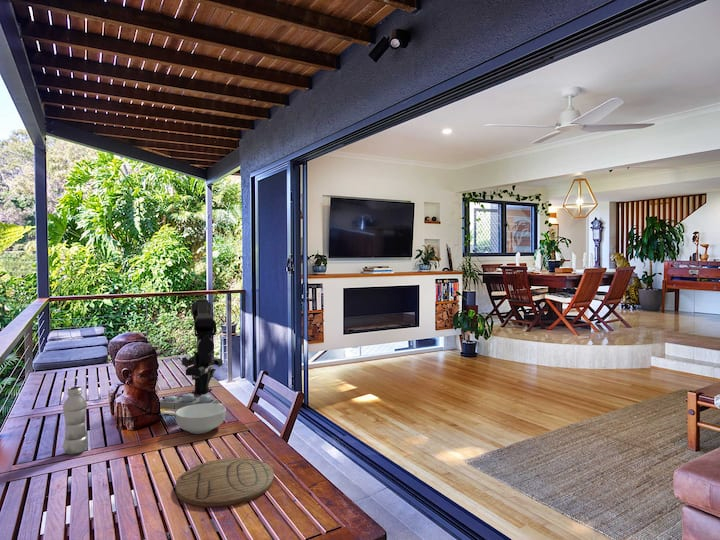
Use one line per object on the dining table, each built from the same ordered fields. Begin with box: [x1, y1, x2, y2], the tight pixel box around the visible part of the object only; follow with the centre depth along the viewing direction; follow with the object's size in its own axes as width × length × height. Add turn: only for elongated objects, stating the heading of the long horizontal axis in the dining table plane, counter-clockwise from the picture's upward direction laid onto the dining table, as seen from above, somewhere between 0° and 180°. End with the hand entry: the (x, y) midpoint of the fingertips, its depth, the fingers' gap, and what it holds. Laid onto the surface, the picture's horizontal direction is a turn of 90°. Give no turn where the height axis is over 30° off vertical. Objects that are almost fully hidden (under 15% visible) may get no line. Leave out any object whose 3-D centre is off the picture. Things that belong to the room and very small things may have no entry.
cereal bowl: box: [174, 403, 227, 435], centre depth 163 cm, size 17×17×7 cm
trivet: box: [175, 457, 275, 509], centre depth 124 cm, size 25×25×2 cm
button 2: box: [181, 392, 195, 403], centre depth 186 cm, size 4×4×3 cm
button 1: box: [164, 395, 178, 402], centre depth 187 cm, size 4×4×3 cm
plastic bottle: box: [62, 386, 89, 455], centre depth 144 cm, size 6×7×20 cm
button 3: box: [198, 393, 212, 404], centre depth 185 cm, size 4×4×3 cm
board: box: [158, 396, 224, 416], centre depth 185 cm, size 14×24×3 cm, turn 79°
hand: (205, 388), depth 185 cm, fingers closed
